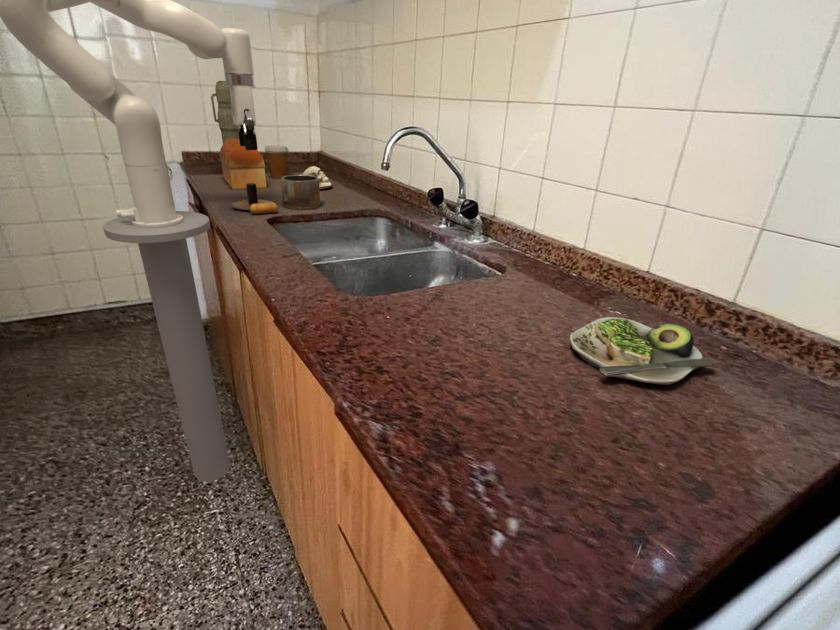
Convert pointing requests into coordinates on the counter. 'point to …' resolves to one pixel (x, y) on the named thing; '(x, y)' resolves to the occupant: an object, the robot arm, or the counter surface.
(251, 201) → the lid
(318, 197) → the pot
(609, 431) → the counter surface
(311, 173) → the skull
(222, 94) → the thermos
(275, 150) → the disposable coffee cup
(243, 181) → the bread
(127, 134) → the robot arm
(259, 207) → the eggroll
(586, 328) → the avocado toast plate
